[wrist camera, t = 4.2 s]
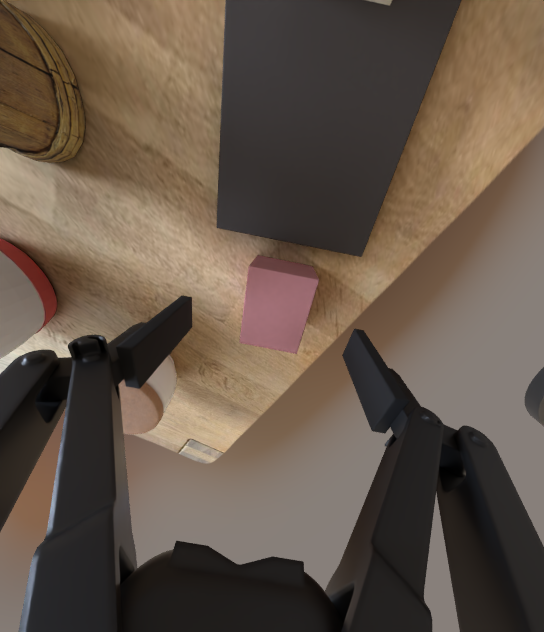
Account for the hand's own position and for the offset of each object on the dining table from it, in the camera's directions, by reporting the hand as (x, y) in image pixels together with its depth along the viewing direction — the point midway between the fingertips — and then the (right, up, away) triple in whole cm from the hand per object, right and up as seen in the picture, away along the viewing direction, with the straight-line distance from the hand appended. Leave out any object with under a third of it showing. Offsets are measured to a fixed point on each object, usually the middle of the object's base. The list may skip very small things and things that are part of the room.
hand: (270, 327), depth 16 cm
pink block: (+1, +3, +7) cm, 8 cm away
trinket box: (-17, -6, +13) cm, 22 cm away
